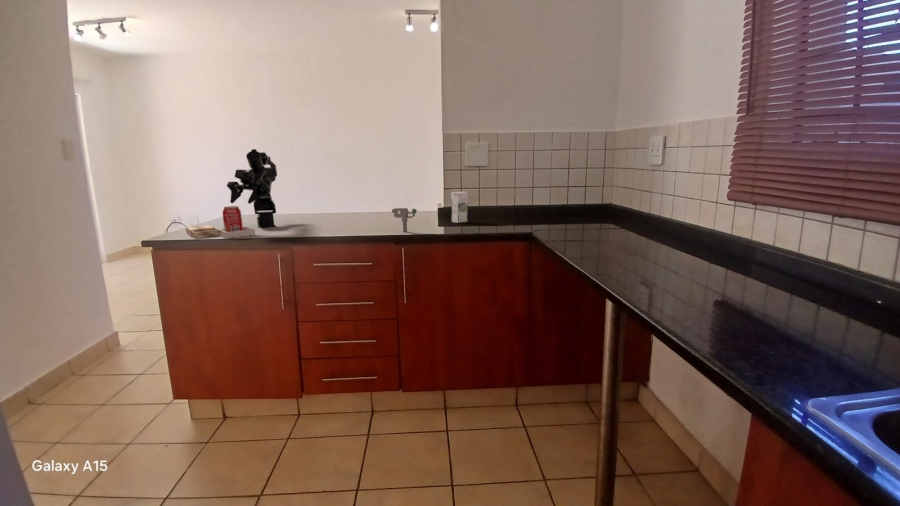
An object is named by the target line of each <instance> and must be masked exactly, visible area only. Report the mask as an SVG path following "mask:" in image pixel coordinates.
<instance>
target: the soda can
mask: <svg viewBox="0 0 900 506" xmlns="http://www.w3.org/2000/svg"><path fill="white" fill-rule="evenodd" d="M241 211H242V210H241V208H239V206H238V205H233V206H232V205H231V206H224V207H223V210H222V218H223V219H222V221H223V229H225V231H226V232H231V231H241V230H243V227H244V226H243V220H242V219H243V217H242V212H241Z"/></svg>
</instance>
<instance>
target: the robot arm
mask: <svg viewBox="0 0 900 506" xmlns="http://www.w3.org/2000/svg"><path fill="white" fill-rule="evenodd" d="M245 157H246V160H247V163H248V166H249V168H248V169H236V170H235V173H234V178H237V179H239V182H240V183H241V184H240V183H239V182H238V181H228V182H227V184H226V187H227V188H228V189H229V191H230V203H231V204H234V203H235V202H236V201H237V200H238V199H239V198H240V197H241V196H242V194H243V192H244V190H245V191H247V190H248V191H252V192H251V194H250V196H249V197H248V200H247V204H252V203H253V208H254V214H255V215H257V217H256V223H257V227H259V228H269V227H276V224H275V221H274V220H275V219H274V214H276V213H277V208H276V204H275V202H274V200H273V198H272V195H271V190H272V183H273V182H275V181H276V178H277V177H278V169H277V166H276V164H275V163H274V162H273V161H272V159H271V156H268V154H267V153H266V152H264V151H263V152H259V151H258V150H257V149H256V148H255V149H254V148H253V149H252V148H251V151H249V152H247V153H246V156H245ZM268 165H269V167H266V166H268Z"/></svg>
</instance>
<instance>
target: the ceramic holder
mask: <svg viewBox="0 0 900 506" xmlns="http://www.w3.org/2000/svg"><path fill="white" fill-rule="evenodd" d="M218 230H219V232H220V235H221V237H222V236H223V237H222V238H224V239H232V237H234V238H241V237H240V236H243V237H249V236H250V235H252V236H256V230H255V228H252V227H250V226H243V230H241V231H231V232H226V231H225V229H224V228H218ZM250 237H251V236H250Z"/></svg>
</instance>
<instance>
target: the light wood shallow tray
mask: <svg viewBox="0 0 900 506" xmlns="http://www.w3.org/2000/svg"><path fill="white" fill-rule="evenodd" d="M185 230H186V234H187V235H189V234H190V235H191V236H190V235H189V236H190V237H192V238H193V239H194V238H195V239H200V238H199V237H204V238H210V237H209V236H214V237H220V232H219V228H217V227H215V226H214V225H211V224H208V225H207V224H206V225H195V226H186V227H185Z"/></svg>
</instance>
